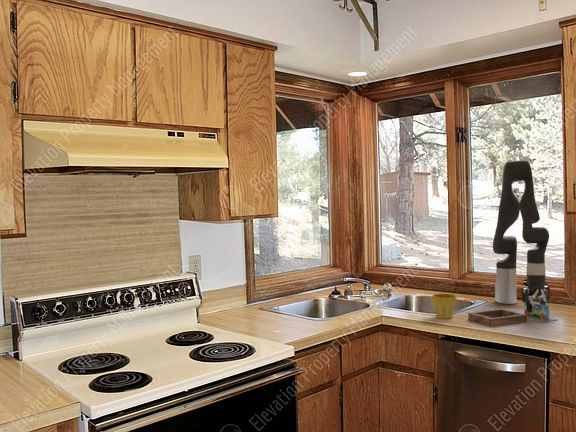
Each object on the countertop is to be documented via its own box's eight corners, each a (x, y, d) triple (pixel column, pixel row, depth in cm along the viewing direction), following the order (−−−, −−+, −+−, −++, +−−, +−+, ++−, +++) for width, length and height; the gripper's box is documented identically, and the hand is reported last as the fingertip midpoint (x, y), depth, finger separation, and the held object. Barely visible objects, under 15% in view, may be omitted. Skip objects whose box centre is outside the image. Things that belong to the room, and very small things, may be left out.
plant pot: (451, 320, 238) (451, 298, 238) (428, 318, 245) (428, 296, 244) (460, 316, 247) (460, 294, 246) (437, 313, 253) (437, 292, 252)
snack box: (524, 315, 245) (524, 301, 245) (526, 314, 246) (526, 301, 246) (546, 320, 234) (546, 306, 234) (549, 320, 235) (549, 305, 235)
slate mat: (514, 316, 245) (514, 315, 245) (531, 313, 249) (531, 313, 249) (540, 322, 232) (540, 322, 232) (558, 319, 236) (558, 319, 236)
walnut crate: (468, 319, 239) (468, 313, 239) (502, 315, 247) (502, 308, 247) (492, 326, 227) (492, 319, 226) (526, 321, 234) (526, 314, 234)
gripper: (541, 271, 246) (541, 308, 246) (516, 273, 240) (516, 311, 241) (555, 273, 239) (555, 311, 240) (530, 275, 233) (530, 314, 234)
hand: (536, 311), depth 240 cm, fingers open, 7 cm apart
